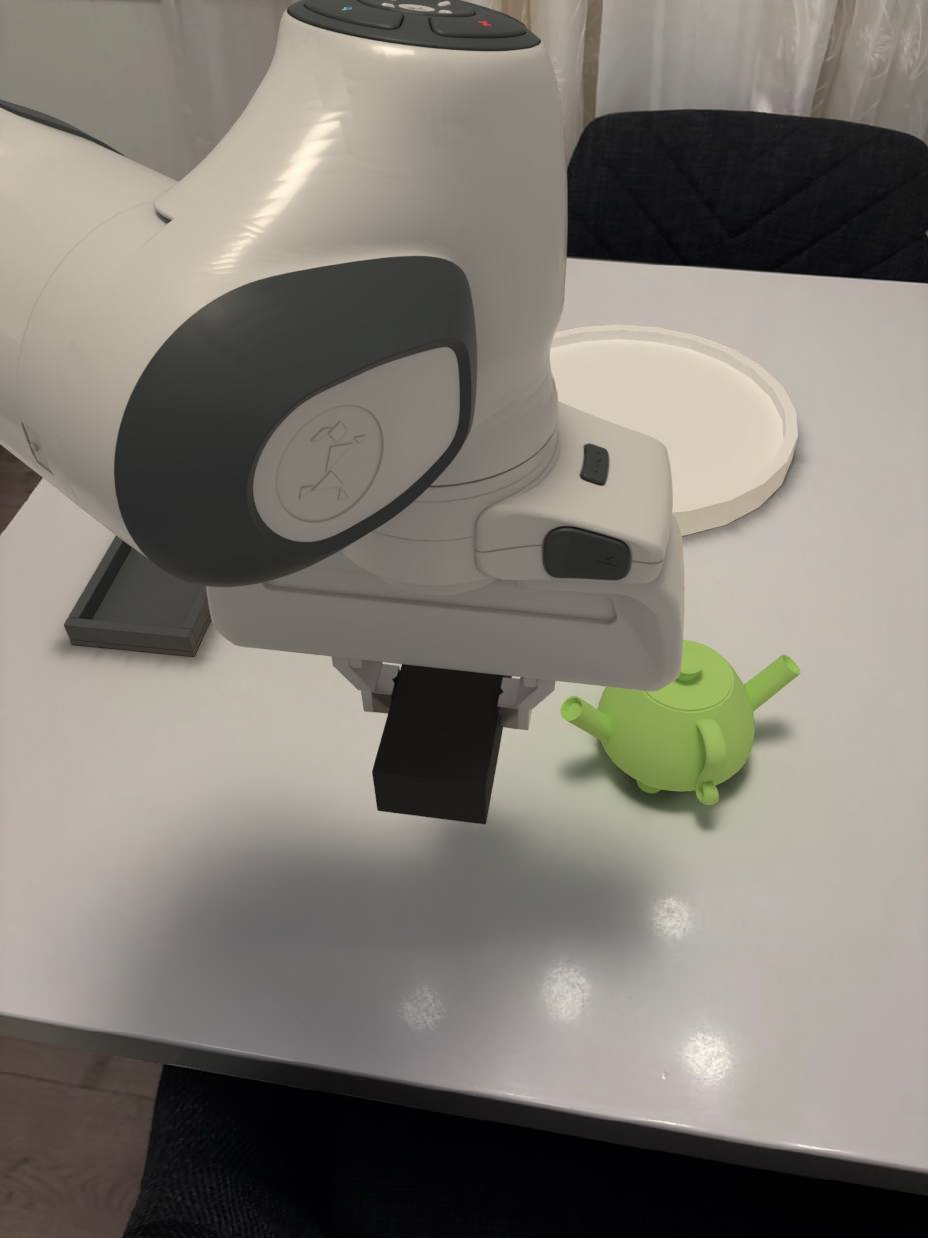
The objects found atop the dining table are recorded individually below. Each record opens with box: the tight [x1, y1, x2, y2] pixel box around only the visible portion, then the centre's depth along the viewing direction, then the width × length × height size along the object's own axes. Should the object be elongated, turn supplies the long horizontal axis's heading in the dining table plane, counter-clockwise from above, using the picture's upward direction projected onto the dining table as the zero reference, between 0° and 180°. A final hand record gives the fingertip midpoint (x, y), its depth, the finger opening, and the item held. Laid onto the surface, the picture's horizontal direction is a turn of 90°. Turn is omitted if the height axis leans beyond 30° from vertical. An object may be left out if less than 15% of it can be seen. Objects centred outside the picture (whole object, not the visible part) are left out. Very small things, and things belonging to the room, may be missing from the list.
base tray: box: [63, 535, 212, 658], centre depth 77 cm, size 14×9×2 cm
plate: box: [550, 324, 799, 537], centre depth 89 cm, size 28×28×2 cm
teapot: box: [560, 639, 801, 806], centre depth 63 cm, size 11×12×8 cm
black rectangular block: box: [371, 664, 513, 826], centre depth 49 cm, size 10×5×3 cm, turn 171°
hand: (449, 710), depth 49 cm, fingers closed on black rectangular block, 5 cm apart
